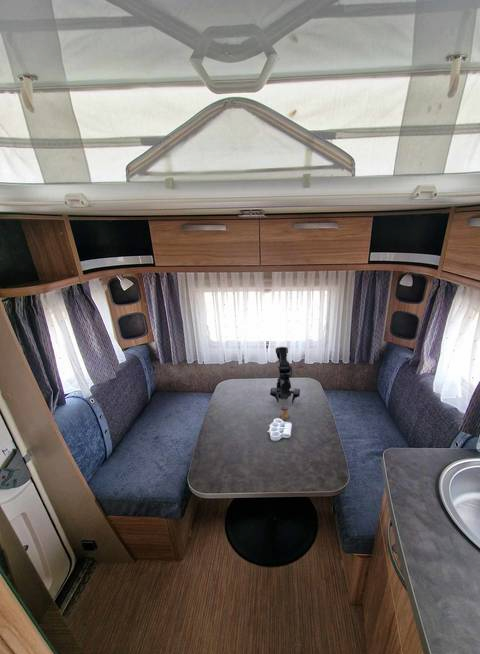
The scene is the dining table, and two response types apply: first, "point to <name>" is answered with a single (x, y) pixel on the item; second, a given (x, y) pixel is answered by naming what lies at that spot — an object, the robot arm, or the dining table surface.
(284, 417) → the spice jar
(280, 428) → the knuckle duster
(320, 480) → the dining table surface
